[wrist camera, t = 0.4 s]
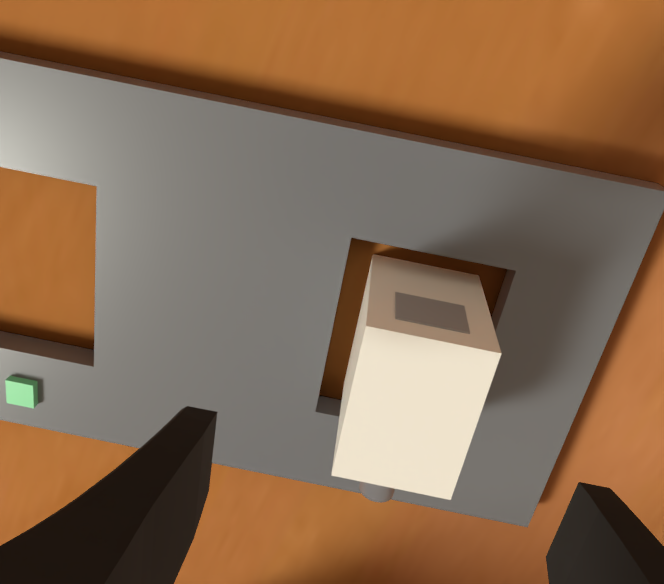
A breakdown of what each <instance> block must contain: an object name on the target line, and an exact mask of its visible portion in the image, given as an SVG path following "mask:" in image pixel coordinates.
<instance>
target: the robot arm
mask: <svg viewBox="0 0 664 584" xmlns="http://www.w3.org/2000/svg"><path fill="white" fill-rule="evenodd" d="M216 421H217V412H216V411H211V410H206V409H200V408H195V407H190V406H186V407H185V408H183V409H181V410H180V411H179V412H178V413H177V414H176V415H175V416H174V417H173V418H172V419H171V420H170V421H169V422H168V423H167V424H166V425H165V426H164V427H163V428H162V429H161V430H160V431H158V432H157V433H156V434H155V435H154V436H153V437H152V438H151V439H150V440H149V441H147V442H146V443H145V444H144V445H143V446H142V447H141V448H140V449H138V450H137V451H136V452H135V453H134V454H132V455H131V456H130V457H129V458H128V459H126V460H125V461H124V462H123V463H122V464H121V465H119V466H118V467H117V468H116V469H115V470H113V471H112V472H111V473H109V474H108V475H107V476H106V477H104V478H103V479H102V480H100V481H99V482H98V483H96V484H95V485H94V486H92V487H91V488H90V489H88V490H87V491H86V492H84V493H83V494H82V495H80V496H79V497H78V498H76V499H75V500H73V501H72V502H70V503H69V504H68V505H66V506H65V507H63V508H62V509H60V510H59V511H57V512H56V513H54V514H53V515H51V516H50V517H48V518H46V519H45V520H43V521H42V522H40V523H39V524H37V525H35V526H34V527H32V528H31V529H29V530H27V531H26V532H24V533H22V534H20V535H19V536H17V537H15V538H13V539H12V540H10V541H8V542H6V543H5V544H3V545H1V546H0V584H174V582H175V579H176V577H177V575H178V573H179V570H180V568H181V566H182V564H183V561H184V559H185V557H186V555H187V552H188V550H189V548H190V545H191V543H192V541H193V539H194V536H195V532H196V529H197V526H198V523H199V520H200V517H201V514H202V511H203V507H204V504H205V501H206V498H207V495H208V491H209V483H210V474H211V465H212V456H213V447H214V438H215V429H216ZM546 561H547V569H548V578H549V584H664V546H663V545H662V544H661V543H660V542H659V541H658V540H657V539H656V538H655V536H654V535H653V534H652V533H651V532H650V531H649V530H648V529H647V528H646V526H645V525H644V524H643V523H642V522H641V521H640V520H639V519H638V518H637V516H636V515H635V514H634V513H633V512H632V511H631V510H630V509H629V508H628V507H627V505H626V504H625V503H624V502H623V501H622V500H621V499H620V498H619V497H618V496H617V495H616V494H615V493H614V492H613V491H612V490H611V489H610V488H607V487H601V486H596V485H591V484H586V483H581V482H579V483H578V485H577V488H576V490H575V492H574V494H573V497H572V499H571V501H570V503H569V506H568V508H567V510H566V513H565V515H564V517H563V519H562V522H561V524H560V526H559V528H558V531H557V533H556V535H555V538H554V540H553V542H552V544H551V547H550V549H549V551H548V553H547V556H546Z"/></svg>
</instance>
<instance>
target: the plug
mask: <svg viewBox="0 0 664 584" xmlns="http://www.w3.org/2000/svg"><path fill="white" fill-rule="evenodd" d="M501 354H502V353H501V350H500V347H499V343H498V340H497V336H496V333H495V329H494V326H493V322H492V319H491V316H490V312H489V309H488V305H487V302H486V298H485V295H484V291H483V288H482V284H481V281H480V278H479V275H475V274H470V273H465V272H460V271H455V270H450V269H445V268H440V267H435V266H430V265H425V264H420V263H415V262H410V261H405V260H400V259H395V258H390V257H385V256H380V255H375V254H373V256H372V260H371V264H370V269H369V273H368V278H367V282H366V287H365V291H364V296H363V300H362V305H361V309H360V313H359V318H358V322H357V327H356V331H355V336H354V340H353V345H352V349H351V354H350V358H349V362H348V367H347V371H346V376H345V380H344V387H343V394H342V401H341V409H340V416H339V423H338V430H337V438H336V445H335V452H334V459H333V467H332V474H331V475H332V476H336V477H341V478H346V479H351V480H356V481H360V483H359V489H360V492H361V493H362V494H363V495H364V496H365V497H366V498H367V499H369V500H371V501H375V502H386V501H389V500H390V499H391V498H392V497H393V494H394V491H395V489H399V490H404V491H409V492H414V493H419V494H424V495H429V496H433V497H438V498H443V499H448V500H451V498H452V495H453V492H454V489H455V486H456V483H457V480H458V477H459V475H460V472H461V469H462V466H463V463H464V460H465V457H466V454H467V452H468V449H469V446H470V443H471V440H472V437H473V434H474V431H475V428H476V426H477V423H478V420H479V417H480V414H481V411H482V408H483V405H484V403H485V400H486V397H487V394H488V391H489V388H490V385H491V382H492V380H493V377H494V374H495V371H496V368H497V365H498V362H499V359H500V357H501Z"/></svg>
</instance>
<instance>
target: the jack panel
mask: <svg viewBox="0 0 664 584" xmlns="http://www.w3.org/2000/svg"><path fill="white" fill-rule="evenodd" d="M0 167H4V168H9V169H14V170H19V171H24V172H28V173H33V174H38V175H43V176H48V177H53V178H58V179H63V180H68V181H73V182H78V183H83V184H88V185H93V186H97V201H96V264H95V327H94V350H92V349H87V348H82V347H77V346H72V345H67V344H62V343H58V342H53V341H48V340H43V339H38V338H33V337H28V336H23V335H18V334H13V333H8V332H3V331H0V420H4V421H9V422H14V423H19V424H24V425H28V426H33V427H38V428H43V429H48V430H53V431H58V432H63V433H68V434H73V435H78V436H82V437H87V438H92V439H97V440H102V441H107V442H112V443H117V444H122V445H127V446H132V447H136V448H141V447H142V446H143V445H144V444H145V443H146V442H147V441H149V440H150V439H151V438H152V437H153V436H154V435H155V434H156V433H157V432H158V431H160V430H161V429H162V428H163V427H164V426H165V425H166V424H167V423H168V422H169V421H170V420H171V419H172V418H173V417H174V416H175V415H176V414H177V413H178V412H179V411H180V410H181V409H183V408H185V407H186V406H190V407H195V408H200V409H206V410H211V411H216V412H217V421H216V429H215V438H214V447H213V456H212V463H215V464H220V465H225V466H230V467H235V468H240V469H244V470H249V471H254V472H259V473H264V474H269V475H274V476H279V477H284V478H289V479H293V480H298V481H303V482H308V483H313V484H318V485H323V486H328V487H333V488H338V489H343V490H347V491H352V492H357V493H361V492H360V489H359V483H360V481H356V480H351V479H346V478H341V477H336V476H332V475H331V474H332V467H333V459H334V452H335V445H336V438H337V430H338V423H339V416H340V409H341V401H342V400H338V399H333V398H328V397H324V396H319V392H320V387H321V382H322V377H323V373H324V368H325V363H326V358H327V353H328V348H329V343H330V339H331V334H332V329H333V324H334V319H335V314H336V309H337V305H338V300H339V295H340V290H341V285H342V280H343V275H344V271H345V266H346V261H347V256H348V251H349V246H350V241H351V238H356V239H361V240H366V241H371V242H376V243H381V244H386V245H391V246H395V247H400V248H405V249H410V250H415V251H420V252H425V253H430V254H435V255H440V256H445V257H450V258H455V259H460V260H465V261H470V262H475V263H480V264H485V265H490V266H495V267H500V268H505V269H507V271H506V274H505V277H504V280H503V284H502V287H501V290H500V293H499V296H498V299H497V302H496V305H495V308H494V311H493V314H492V317H491V319H492V322H493V326H494V329H495V333H496V336H497V340H498V343H499V347H500V350H501V353H502V354H501V357H500V359H499V362H498V365H497V368H496V371H495V374H494V377H493V380H492V382H491V385H490V388H489V391H488V394H487V397H486V400H485V403H484V405H483V408H482V411H481V414H480V417H479V420H478V423H477V426H476V428H475V431H474V434H473V437H472V440H471V443H470V446H469V449H468V452H467V454H466V457H465V460H464V463H463V466H462V469H461V472H460V475H459V477H458V480H457V483H456V486H455V489H454V492H453V495H452V498H451V500H448V499H443V498H438V497H433V496H429V495H424V494H419V493H414V492H409V491H404V490H399V489H395V491H394V494H393V497H392V498H391V499H392V500H397V501H401V502H406V503H411V504H416V505H421V506H426V507H431V508H436V509H441V510H446V511H451V512H455V513H460V514H465V515H470V516H475V517H480V518H485V519H490V520H495V521H500V522H505V523H509V524H514V525H519V526H524V527H528V525H529V523H530V520H531V518H532V516H533V513H534V511H535V509H536V506H537V504H538V502H539V499H540V497H541V495H542V492H543V490H544V488H545V485H546V483H547V481H548V478H549V476H550V474H551V471H552V469H553V467H554V464H555V462H556V460H557V458H558V455H559V453H560V451H561V448H562V446H563V444H564V441H565V439H566V437H567V434H568V432H569V430H570V427H571V425H572V423H573V420H574V418H575V416H576V413H577V411H578V409H579V406H580V404H581V402H582V399H583V397H584V395H585V392H586V390H587V388H588V385H589V383H590V381H591V378H592V376H593V374H594V371H595V369H596V367H597V364H598V362H599V360H600V357H601V355H602V353H603V350H604V348H605V346H606V343H607V341H608V339H609V336H610V334H611V332H612V329H613V327H614V325H615V322H616V320H617V318H618V315H619V313H620V311H621V309H622V306H623V304H624V302H625V299H626V297H627V295H628V292H629V290H630V288H631V285H632V283H633V281H634V278H635V276H636V274H637V271H638V269H639V267H640V264H641V262H642V260H643V257H644V255H645V253H646V250H647V248H648V246H649V243H650V241H651V239H652V236H653V234H654V232H655V229H656V227H657V225H658V222H659V220H660V218H661V215H662V213H663V211H664V187H662V186H661V185H660V184H658V183H654V182H649V181H644V180H639V179H634V178H629V177H624V176H619V175H614V174H609V173H604V172H599V171H594V170H589V169H584V168H579V167H574V166H569V165H564V164H559V163H554V162H549V161H544V160H539V159H534V158H529V157H524V156H519V155H514V154H510V153H505V152H500V151H495V150H490V149H485V148H480V147H475V146H470V145H465V144H460V143H455V142H450V141H445V140H440V139H435V138H430V137H425V136H420V135H415V134H410V133H405V132H400V131H395V130H390V129H385V128H380V127H375V126H370V125H365V124H360V123H355V122H350V121H345V120H340V119H335V118H330V117H325V116H320V115H315V114H310V113H305V112H300V111H295V110H290V109H285V108H280V107H275V106H270V105H265V104H260V103H255V102H250V101H245V100H240V99H235V98H230V97H225V96H221V95H216V94H211V93H206V92H201V91H196V90H191V89H186V88H181V87H176V86H171V85H166V84H161V83H156V82H151V81H146V80H141V79H136V78H131V77H126V76H121V75H116V74H111V73H106V72H101V71H96V70H91V69H86V68H81V67H76V66H71V65H66V64H61V63H56V62H51V61H46V60H41V59H36V58H31V57H26V56H21V55H16V54H11V53H6V52H1V51H0Z"/></svg>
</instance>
